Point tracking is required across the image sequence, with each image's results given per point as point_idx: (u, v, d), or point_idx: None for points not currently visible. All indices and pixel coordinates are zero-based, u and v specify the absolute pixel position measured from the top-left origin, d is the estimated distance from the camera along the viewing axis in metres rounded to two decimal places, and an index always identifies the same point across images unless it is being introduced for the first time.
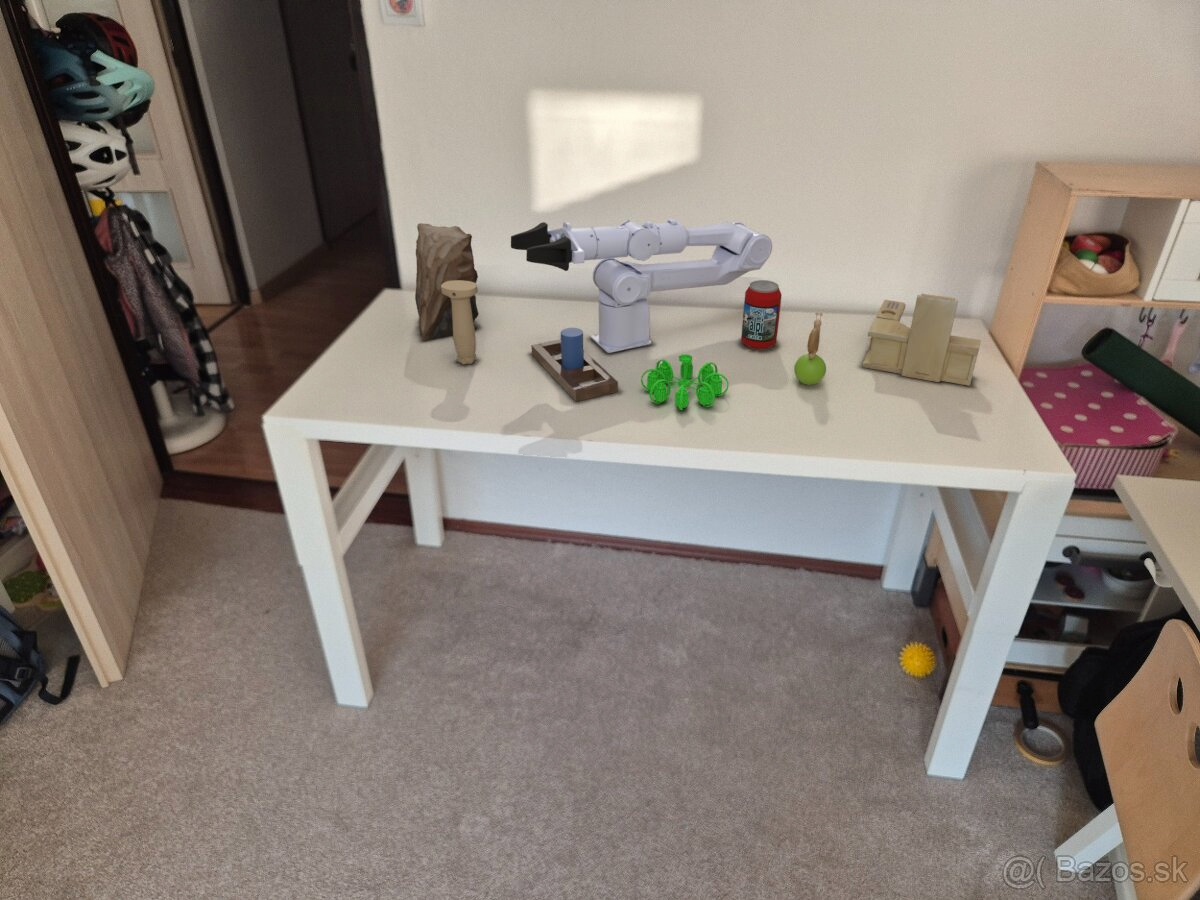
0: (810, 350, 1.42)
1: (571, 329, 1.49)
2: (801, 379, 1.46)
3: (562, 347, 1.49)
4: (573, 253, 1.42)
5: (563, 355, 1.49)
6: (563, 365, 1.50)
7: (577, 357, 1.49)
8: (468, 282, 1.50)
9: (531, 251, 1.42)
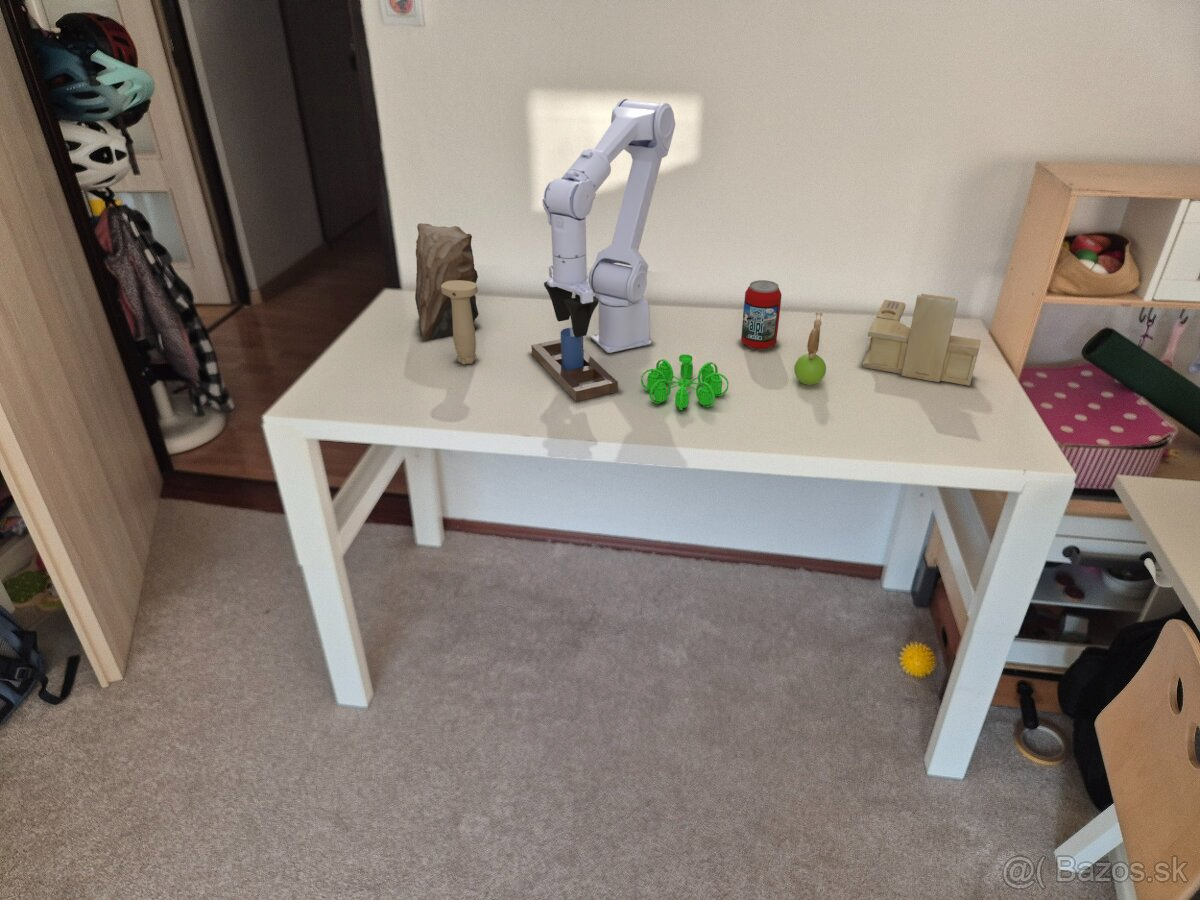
0: (810, 350, 1.42)
1: (571, 329, 1.49)
2: (801, 379, 1.46)
3: (562, 347, 1.49)
4: None
5: (563, 355, 1.49)
6: (563, 365, 1.50)
7: (577, 357, 1.49)
8: (468, 282, 1.50)
9: (577, 334, 1.44)
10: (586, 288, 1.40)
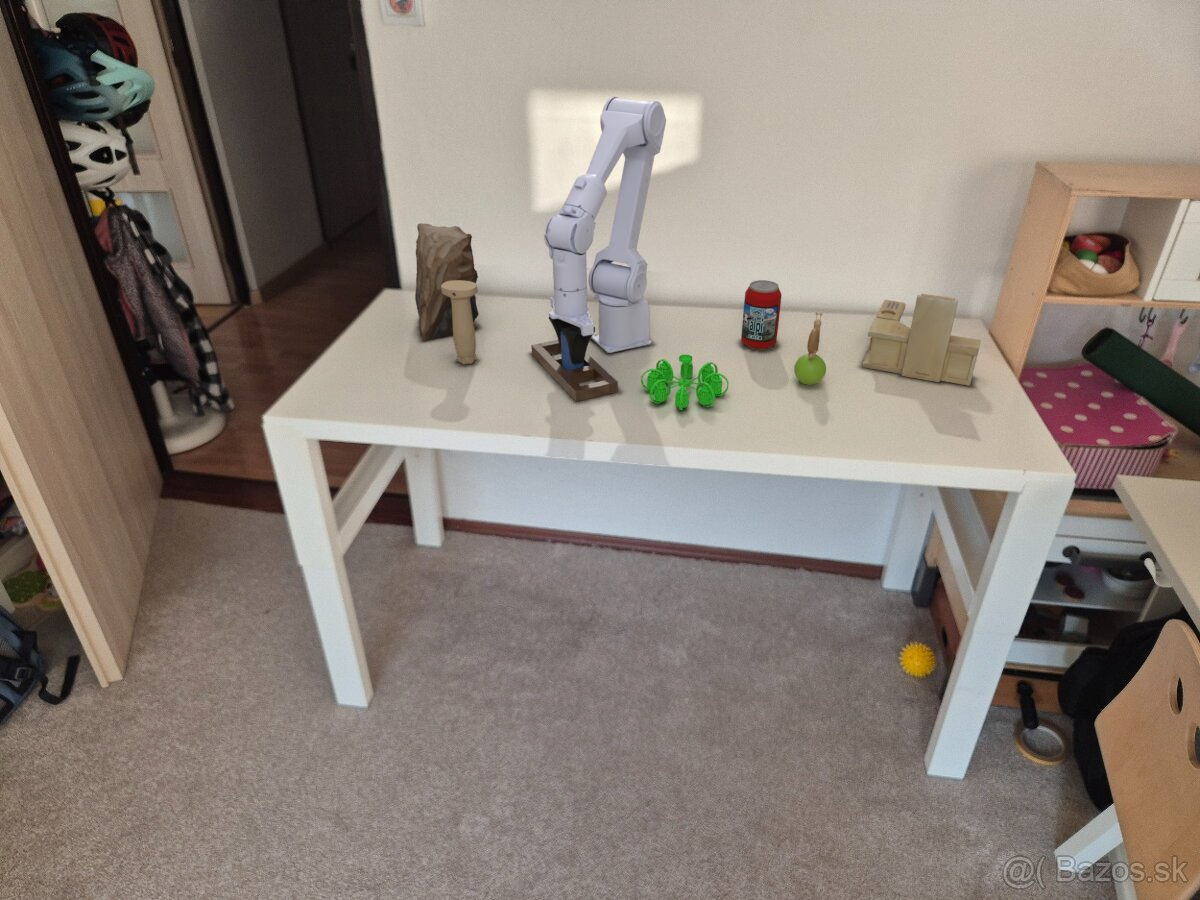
0: (810, 350, 1.42)
1: None
2: (801, 379, 1.46)
3: (562, 347, 1.49)
4: None
5: (563, 355, 1.49)
6: (563, 365, 1.50)
7: None
8: (468, 282, 1.50)
9: (574, 361, 1.48)
10: (587, 320, 1.43)
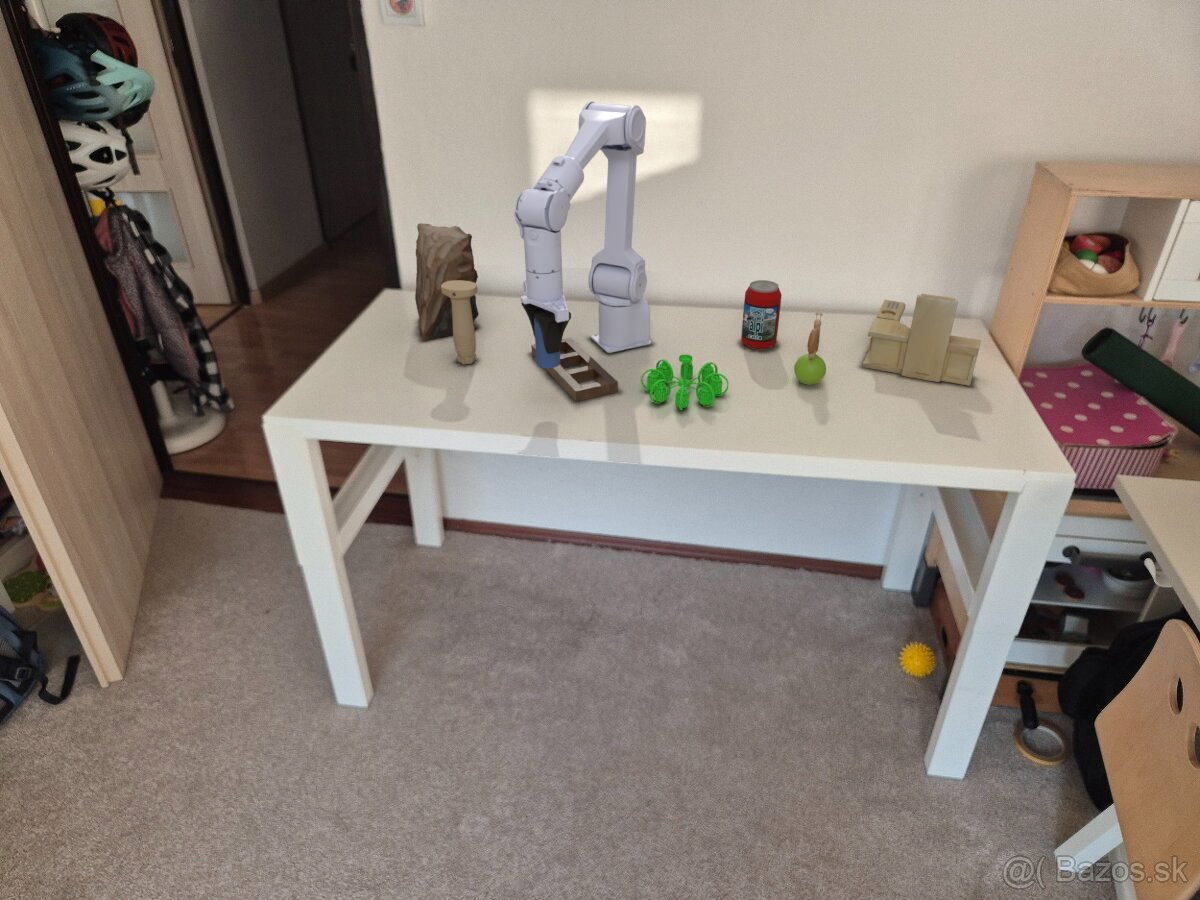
0: (810, 350, 1.42)
1: None
2: (801, 379, 1.46)
3: (536, 335, 1.36)
4: None
5: (537, 344, 1.37)
6: (537, 355, 1.38)
7: None
8: (468, 282, 1.50)
9: (549, 350, 1.36)
10: (562, 305, 1.30)
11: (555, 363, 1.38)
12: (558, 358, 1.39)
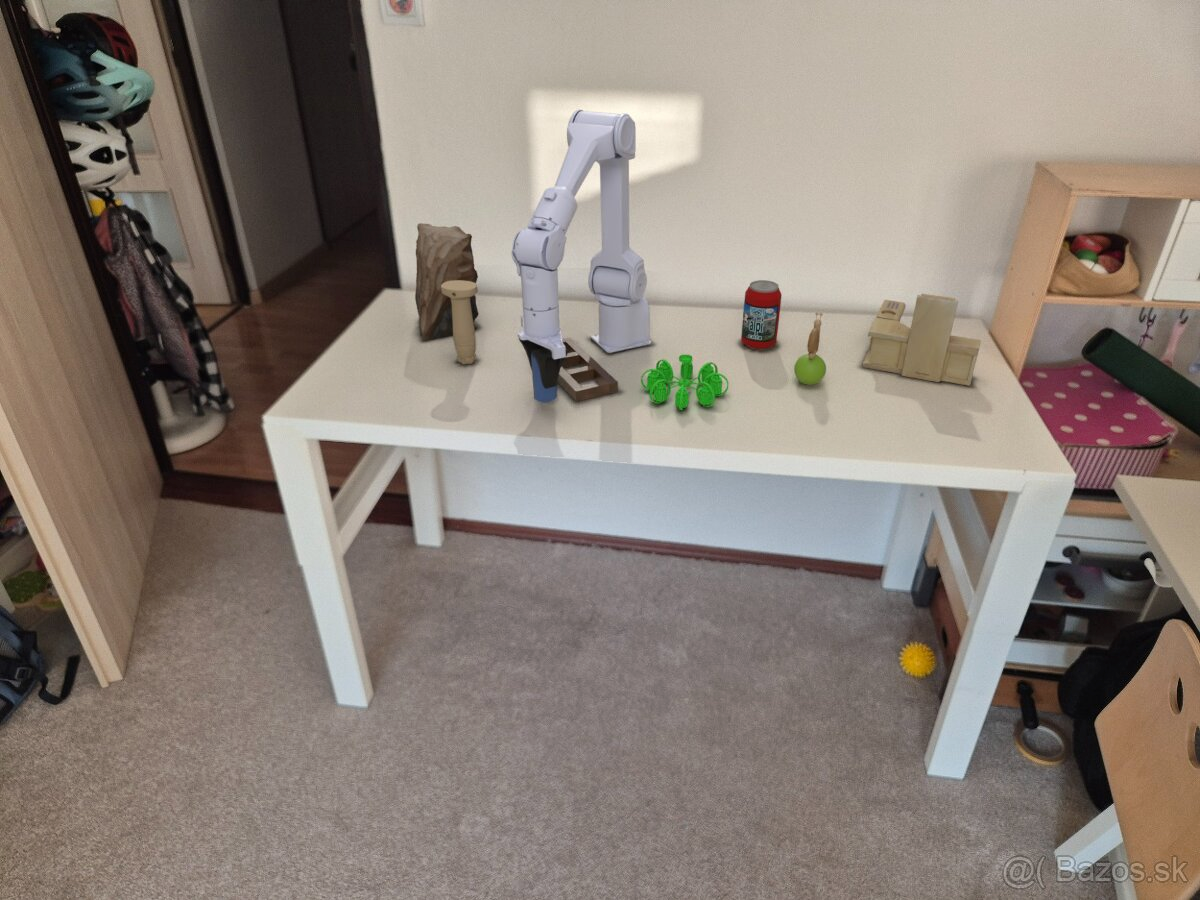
0: (810, 350, 1.42)
1: None
2: (801, 379, 1.46)
3: (533, 370, 1.38)
4: None
5: (534, 378, 1.38)
6: (534, 389, 1.39)
7: None
8: (468, 282, 1.50)
9: (546, 385, 1.37)
10: (558, 342, 1.32)
11: (552, 397, 1.40)
12: (555, 392, 1.40)
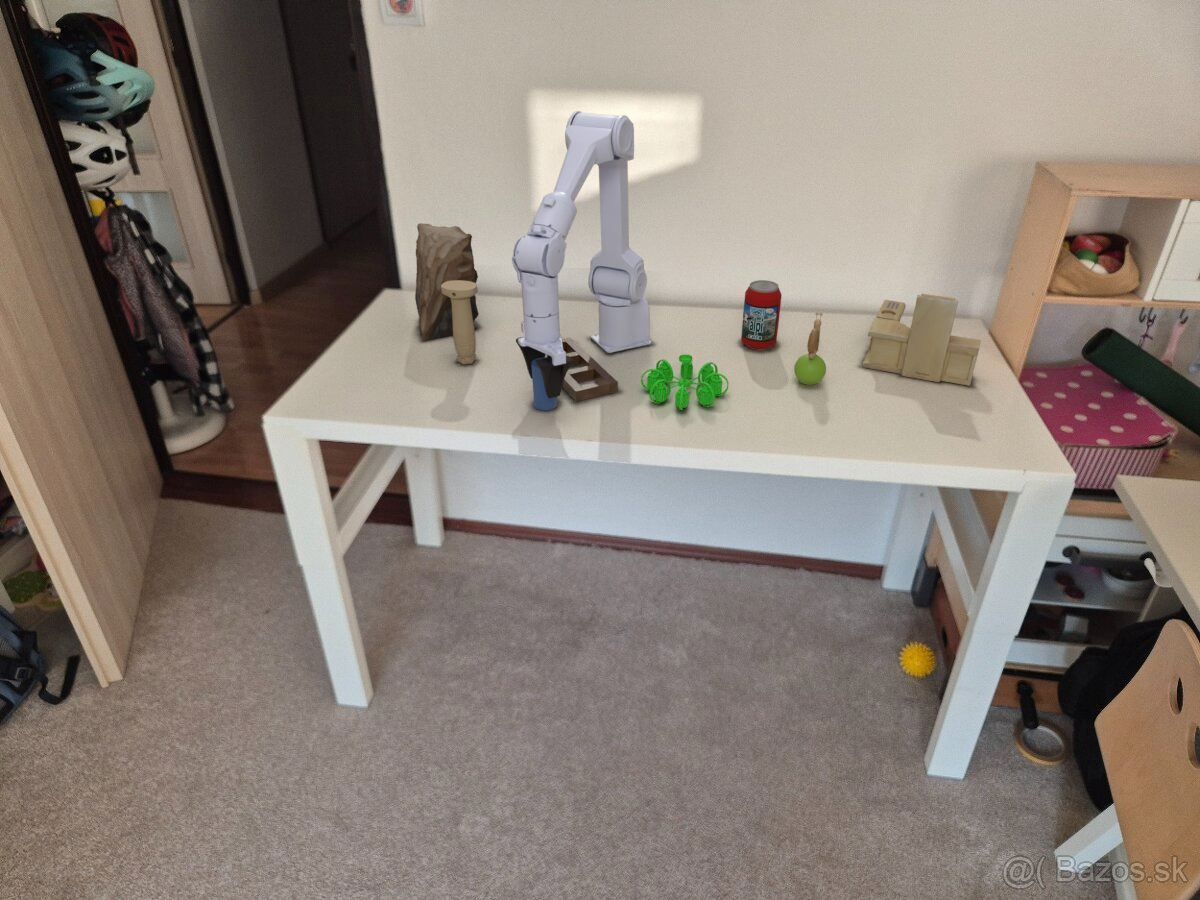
0: (810, 350, 1.42)
1: None
2: (801, 379, 1.46)
3: (533, 378, 1.38)
4: None
5: (534, 387, 1.39)
6: (535, 397, 1.40)
7: None
8: (468, 282, 1.50)
9: (550, 394, 1.37)
10: (559, 348, 1.32)
11: (552, 405, 1.41)
12: (555, 401, 1.41)
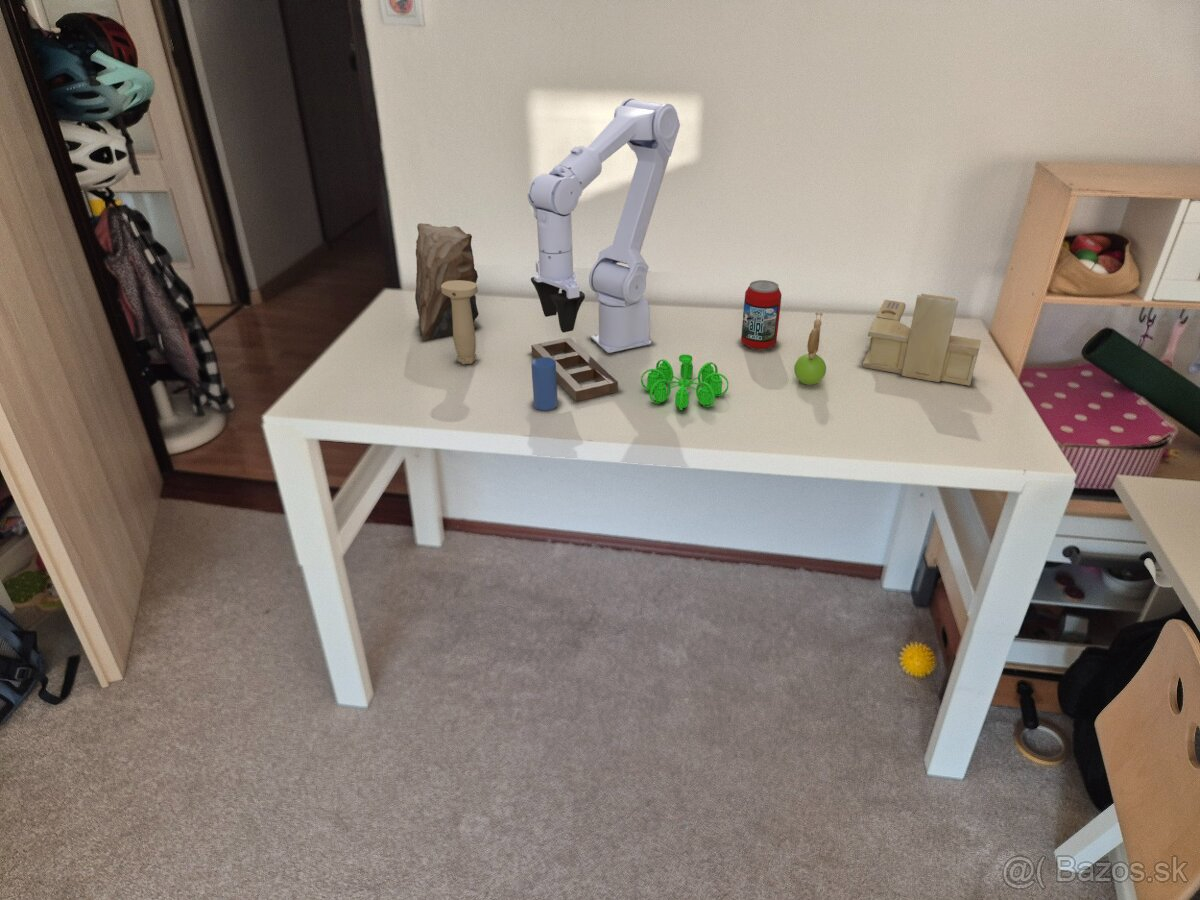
0: (810, 350, 1.42)
1: (543, 359, 1.39)
2: (801, 379, 1.46)
3: (533, 378, 1.38)
4: None
5: (534, 387, 1.39)
6: (535, 397, 1.40)
7: (549, 389, 1.39)
8: (468, 282, 1.50)
9: (564, 329, 1.44)
10: (572, 283, 1.40)
11: (552, 405, 1.41)
12: (555, 401, 1.41)
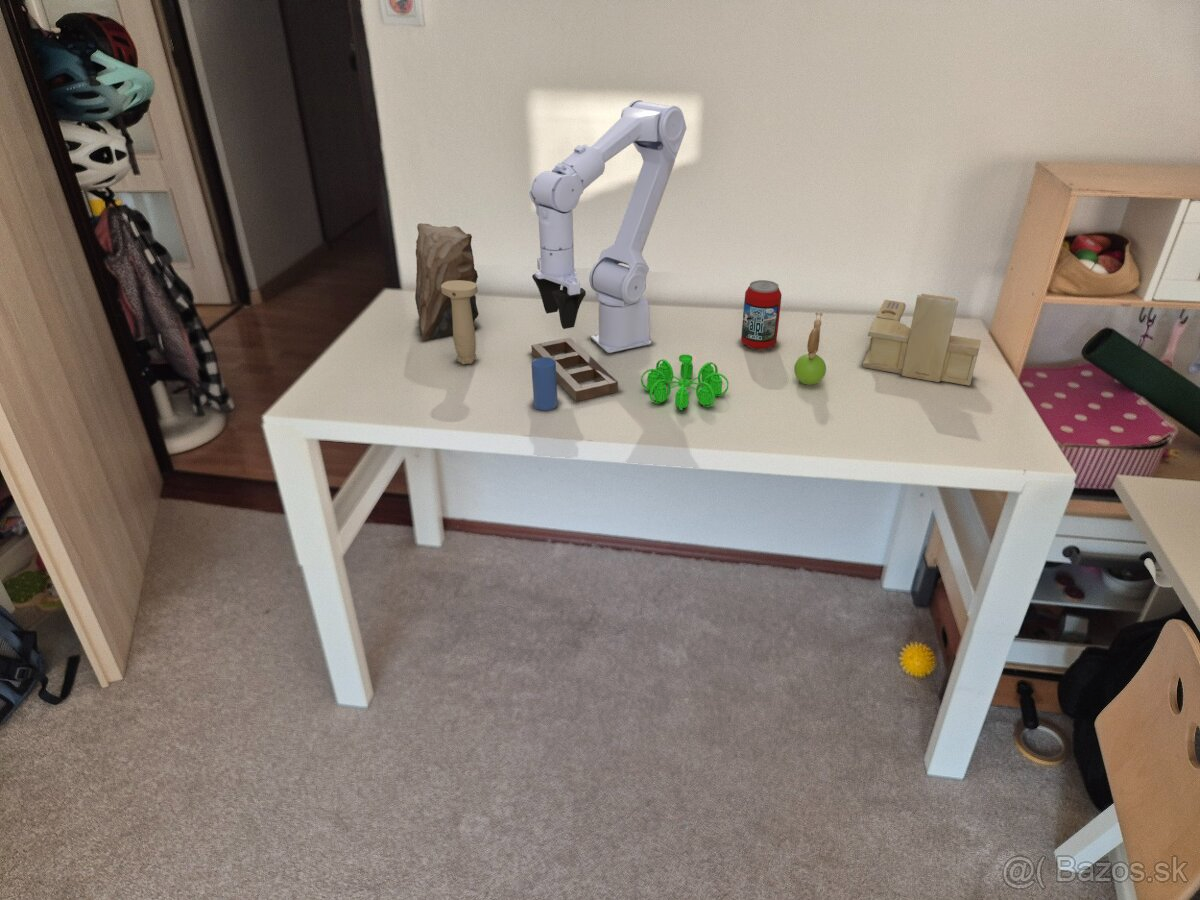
0: (810, 350, 1.42)
1: (543, 359, 1.39)
2: (801, 379, 1.46)
3: (533, 378, 1.38)
4: None
5: (534, 387, 1.39)
6: (535, 397, 1.40)
7: (549, 389, 1.39)
8: (468, 282, 1.50)
9: (565, 325, 1.46)
10: (573, 280, 1.41)
11: (552, 405, 1.41)
12: (555, 401, 1.41)
